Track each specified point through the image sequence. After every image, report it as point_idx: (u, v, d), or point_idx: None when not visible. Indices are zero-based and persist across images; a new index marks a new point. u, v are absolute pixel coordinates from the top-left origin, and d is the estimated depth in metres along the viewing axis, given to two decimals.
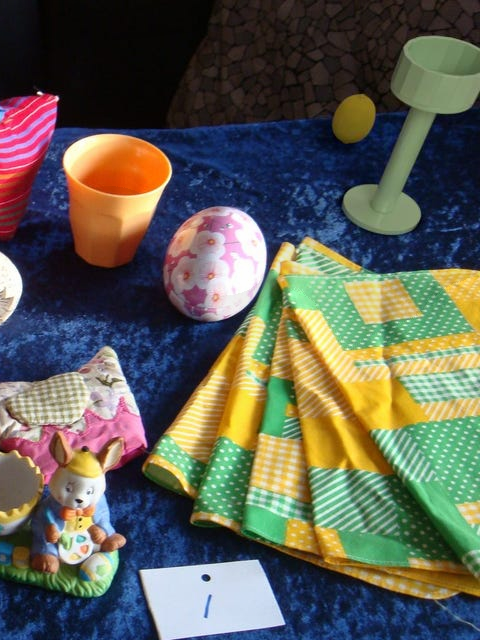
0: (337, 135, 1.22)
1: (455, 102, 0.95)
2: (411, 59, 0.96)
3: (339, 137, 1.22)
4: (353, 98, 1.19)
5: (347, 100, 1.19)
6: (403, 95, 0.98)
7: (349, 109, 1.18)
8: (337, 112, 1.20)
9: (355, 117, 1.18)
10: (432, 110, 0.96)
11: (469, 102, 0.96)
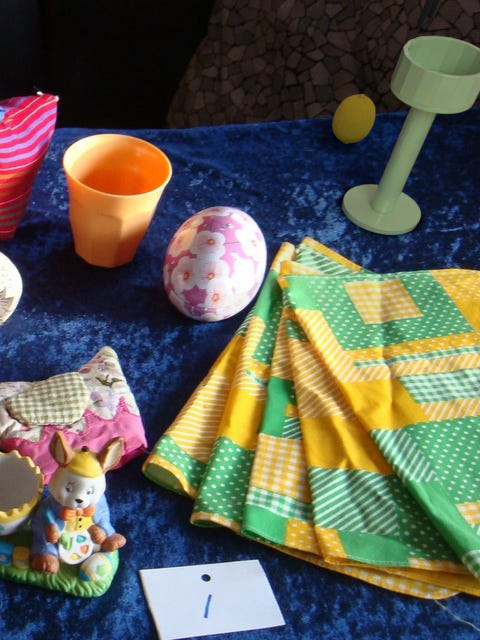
0: (337, 135, 1.22)
1: (455, 102, 0.95)
2: (411, 59, 0.96)
3: (339, 137, 1.22)
4: (353, 98, 1.19)
5: (347, 100, 1.19)
6: (403, 95, 0.98)
7: (349, 109, 1.18)
8: (337, 112, 1.20)
9: (355, 117, 1.18)
10: (432, 110, 0.96)
11: (469, 102, 0.96)
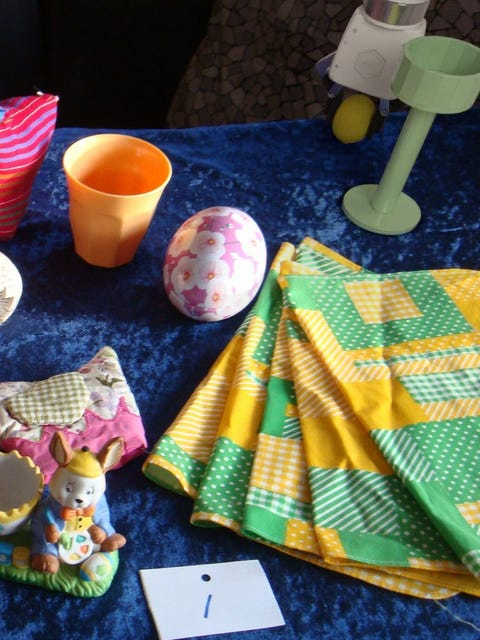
0: (337, 135, 1.22)
1: (455, 102, 0.95)
2: (411, 59, 0.96)
3: (339, 137, 1.22)
4: (353, 98, 1.19)
5: (347, 100, 1.19)
6: (403, 95, 0.98)
7: (349, 109, 1.18)
8: (337, 112, 1.20)
9: (355, 117, 1.18)
10: (432, 110, 0.96)
11: (469, 102, 0.96)
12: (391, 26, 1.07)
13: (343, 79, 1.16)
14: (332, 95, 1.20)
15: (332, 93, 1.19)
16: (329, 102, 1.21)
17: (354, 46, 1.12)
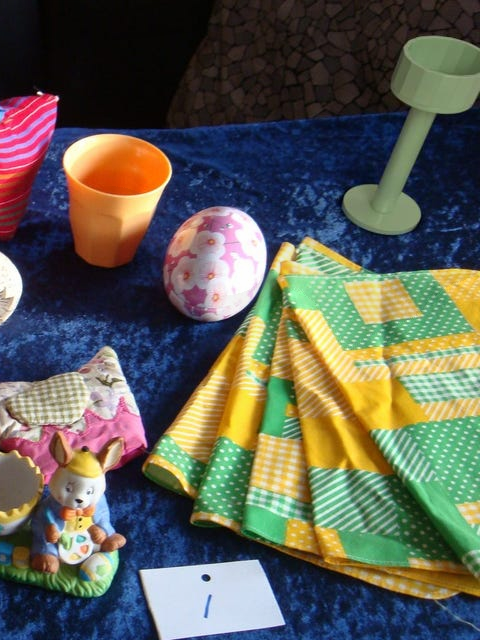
0: None
1: (455, 102, 0.95)
2: (411, 59, 0.96)
3: None
4: None
5: None
6: (403, 95, 0.98)
7: None
8: None
9: None
10: (432, 110, 0.96)
11: (469, 102, 0.96)
12: None
13: None
14: None
15: None
16: None
17: None
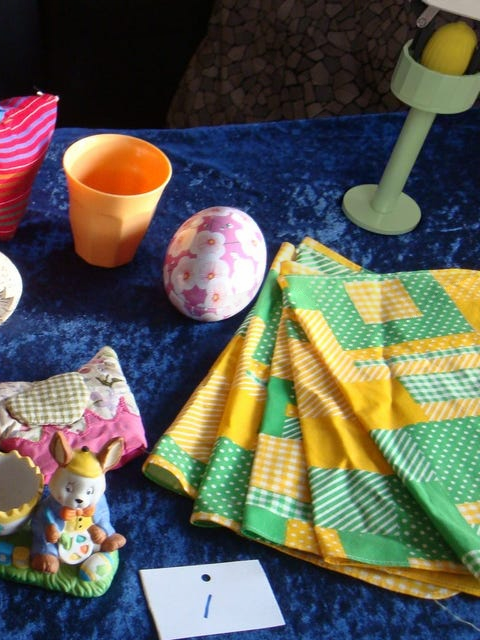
0: None
1: (455, 102, 0.95)
2: (411, 59, 0.96)
3: None
4: (449, 26, 0.94)
5: (441, 29, 0.94)
6: (403, 95, 0.98)
7: (444, 40, 0.94)
8: (428, 45, 0.96)
9: (452, 50, 0.93)
10: (432, 110, 0.96)
11: (469, 102, 0.96)
12: None
13: (440, 0, 0.91)
14: (422, 23, 0.95)
15: (423, 20, 0.94)
16: (417, 33, 0.96)
17: None
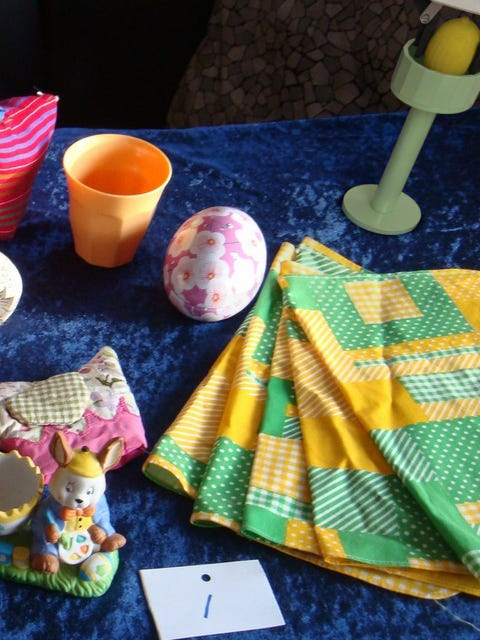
0: None
1: (455, 102, 0.95)
2: (411, 59, 0.96)
3: None
4: (453, 22, 0.93)
5: (445, 25, 0.94)
6: (403, 95, 0.98)
7: (448, 35, 0.93)
8: (431, 41, 0.95)
9: (456, 45, 0.93)
10: (432, 110, 0.96)
11: (469, 102, 0.96)
12: None
13: None
14: (426, 19, 0.94)
15: (426, 16, 0.94)
16: (421, 29, 0.96)
17: None
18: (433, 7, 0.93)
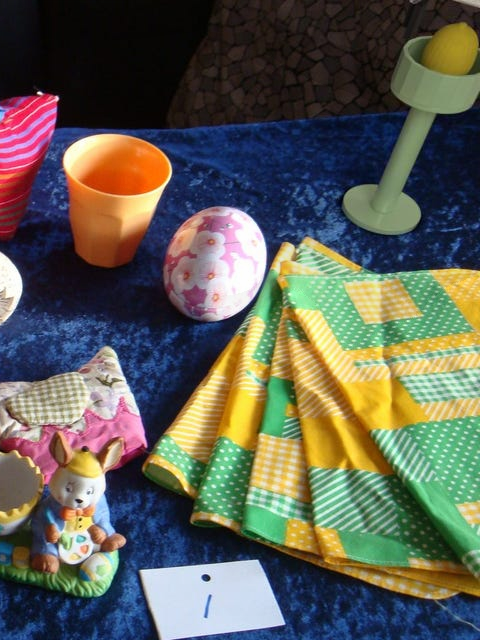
0: None
1: (455, 102, 0.95)
2: (411, 59, 0.96)
3: None
4: (451, 27, 0.94)
5: (443, 30, 0.94)
6: (403, 95, 0.98)
7: (446, 41, 0.94)
8: (429, 46, 0.96)
9: (453, 51, 0.93)
10: (432, 110, 0.96)
11: (469, 102, 0.96)
12: None
13: None
14: (414, 0, 0.94)
15: None
16: (410, 10, 0.95)
17: None
18: None
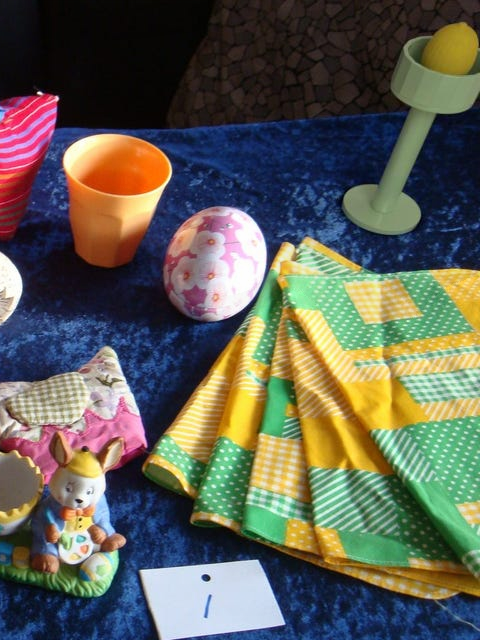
0: None
1: (455, 102, 0.95)
2: (411, 59, 0.96)
3: None
4: (451, 27, 0.94)
5: (443, 30, 0.94)
6: (403, 95, 0.98)
7: (446, 41, 0.94)
8: (429, 46, 0.96)
9: (453, 51, 0.93)
10: (432, 110, 0.96)
11: (469, 102, 0.96)
12: None
13: None
14: None
15: None
16: None
17: None
18: None
